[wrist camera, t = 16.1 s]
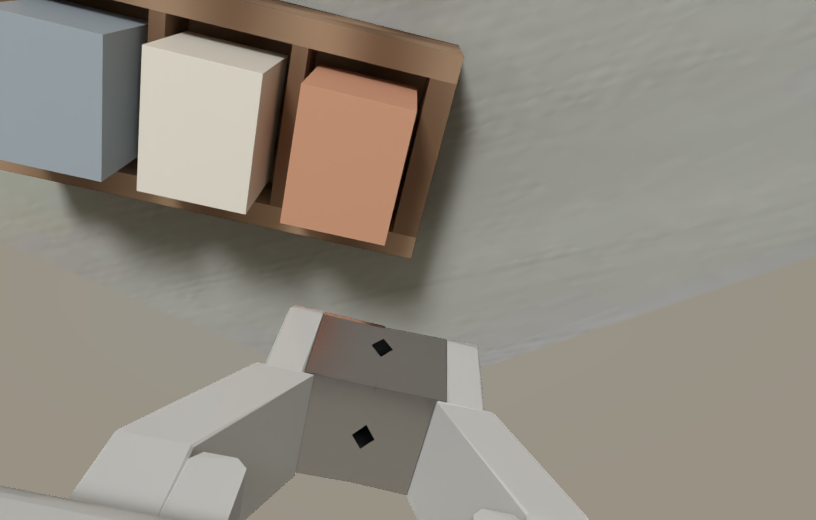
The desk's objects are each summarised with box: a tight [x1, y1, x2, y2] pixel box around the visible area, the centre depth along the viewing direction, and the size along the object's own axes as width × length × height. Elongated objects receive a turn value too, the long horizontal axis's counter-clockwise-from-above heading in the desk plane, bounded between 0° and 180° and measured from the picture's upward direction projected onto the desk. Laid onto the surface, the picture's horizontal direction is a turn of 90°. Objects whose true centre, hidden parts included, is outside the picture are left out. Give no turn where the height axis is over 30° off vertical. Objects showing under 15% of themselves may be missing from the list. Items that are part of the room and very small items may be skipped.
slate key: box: [0, 0, 148, 182], centre depth 26 cm, size 5×6×5 cm
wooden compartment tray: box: [0, 0, 464, 259], centre depth 29 cm, size 20×10×4 cm, turn 77°
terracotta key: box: [280, 64, 417, 246], centre depth 27 cm, size 5×6×5 cm
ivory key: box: [137, 31, 288, 215], centre depth 27 cm, size 5×6×5 cm
